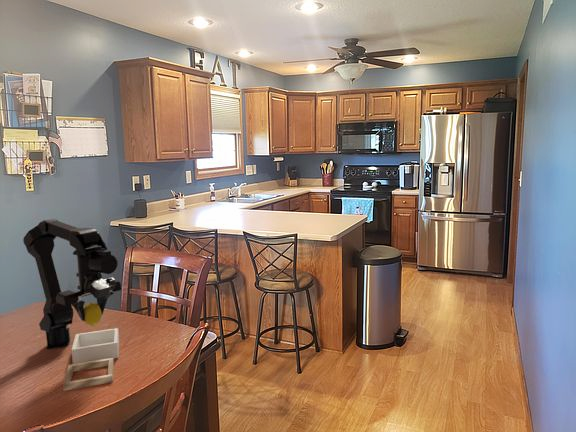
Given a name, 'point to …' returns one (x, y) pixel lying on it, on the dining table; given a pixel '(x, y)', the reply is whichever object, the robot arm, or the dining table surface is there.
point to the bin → (95, 346)
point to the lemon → (92, 314)
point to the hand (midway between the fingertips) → (92, 317)
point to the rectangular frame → (89, 381)
